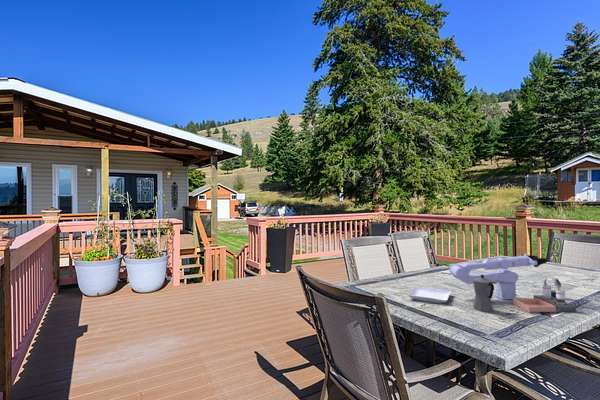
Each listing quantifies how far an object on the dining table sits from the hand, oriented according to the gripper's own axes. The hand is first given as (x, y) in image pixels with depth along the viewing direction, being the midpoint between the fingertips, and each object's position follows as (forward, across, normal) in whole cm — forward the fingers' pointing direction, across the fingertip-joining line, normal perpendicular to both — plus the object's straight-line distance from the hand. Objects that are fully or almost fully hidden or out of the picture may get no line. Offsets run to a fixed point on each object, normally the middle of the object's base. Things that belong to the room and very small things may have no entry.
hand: (541, 259), depth 196 cm
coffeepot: (-45, -20, +18) cm, 52 cm away
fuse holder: (-6, -15, +21) cm, 27 cm away
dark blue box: (+4, 0, +22) cm, 23 cm away
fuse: (-6, -10, +21) cm, 24 cm away
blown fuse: (-6, -20, +21) cm, 30 cm away
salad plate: (-65, +2, +17) cm, 67 cm away
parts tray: (-19, -19, +20) cm, 34 cm away
